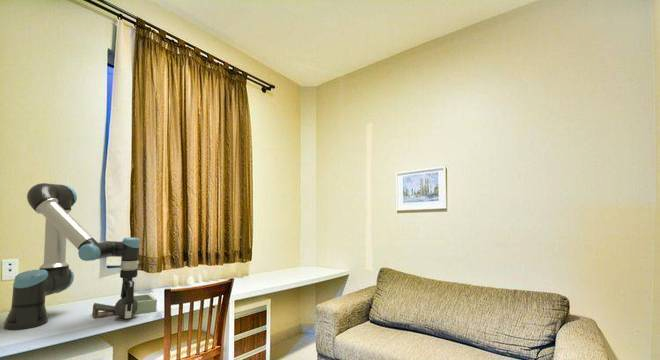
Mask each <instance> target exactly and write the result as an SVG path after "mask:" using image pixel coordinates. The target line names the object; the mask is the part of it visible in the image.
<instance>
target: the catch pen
mask: <svg viewBox="0 0 660 360" xmlns="http://www.w3.org/2000/svg"><path fill="white" fill-rule="evenodd" d="M134 299H135V300H136V301H137V303H138V308H137V311H136V312H135V314H134V315H141V314H147V313H153V312H154V313H155V312H157V301H158V299H157V298H156V297H155V296H153V295H151V294H150V293H145V294H136V295H134ZM134 315H133V316H134Z"/></svg>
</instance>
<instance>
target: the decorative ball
mask: <svg viewBox="0 0 660 360" xmlns="http://www.w3.org/2000/svg"><path fill="white" fill-rule="evenodd" d="M125 303H126V297H124V298H121V297H120V299H118V301H116V303H115V305H114V306H115V308H114V311H115V314H116V315H117V317H118V318H121V319H126V318H125V306H126V305H125ZM137 308H138V303H137V301H136V300H135V299H134V303H133V304H132V315H131V317H132V316H134V314H135V312H136V311H137ZM135 315H136V314H135Z"/></svg>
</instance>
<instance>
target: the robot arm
mask: <svg viewBox="0 0 660 360" xmlns="http://www.w3.org/2000/svg"><path fill="white" fill-rule="evenodd" d="M26 200H27V203H28V205H29V206H30V207H31V209H32V210H33V211H34V212H35V213H37V214H41V215H42V216H43V217H44V218H45V225H44V231H45V232H44V246H43V248H44V250H43V263H42V264H41V265H39V268H38V269H31V270H26V271H23V272H20V273H18V274H17V275H15V277H14V280H13V284H12V286H13V287H12V297H11V306H10V307H11V308H10V310H9V313H8V314H7V317H5V320H4V323H3V324H4V325H3V328H4V329H5V330H23V329H31V328H35V327H39V326H42V325H45V324H47V323H48V321H49V314H48V311H47V308H46V304H45V303H46V297H47V296H50V295H55V294H59V293H61V292H63V291H66V290H67V289H69V288H70V286H72V284H73V282H74V279H75V274H74V271H72V269H71V268H70V264H69V263H68V262H67V261H66V252H67V251H66V250H67V240H68V241H69V242H70V243H71V244H72V245H73V246H74V247H75V248H76V249H77V250H78V253H77V255H78V257H79V259H80V260H81V261H84V262H91V261H96V260H100V259H105V258H113V257H115V258H118V257H119V258H121V260H120V272H119V277H120V278H121V279H122V283H121V291H120V292H121V293H120V299H121V298H124V297H126V303H125V305H126V306H125V318H124V319H130V318H132V316H133V315H132V304H133V303H134V296H135V292H134V291H135V288H134V287H135V281H134V280H133V278H137V277H138V271H139V269H138V267H139V264H140V261H139V256H140V248H141V247H140V243H141V242H140V241H141V240H140V238H138V237H124V238H123V239H122V240H121V241H116V240H115V241H113V240H112V241H111V240H110V241H109V240H101V241H99V242H98V241H97V240H96V239H95V238H94V237H92V236H91V234H89V232H88V231H87V230H85V228H84V227H82V226H81V224H80V223H78V222H77V221H76V219H74V218H73V217H72V216H71V214H69V213H70V212H71V211H72V207H73V206H74V205H75V204H76V202H77V200H78V196H77V193H76V191H75V190H74V188H72V187H71V186H69V185H65V184H54V183H46V182H42V183H37V184H35V185H33V186H31V188H29V189H28V192H27V194H26ZM131 315H132V316H131Z"/></svg>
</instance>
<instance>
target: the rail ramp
mask: <svg viewBox="0 0 660 360" xmlns="http://www.w3.org/2000/svg"><path fill="white" fill-rule="evenodd" d="M114 308H115V305H109V304H103V303H97V302H94V303H93V306H92V313H91V315H92V317H93V319H100V318H101V319H103V318H109V317H115V316H117V315H116V314H115V311H114ZM117 317H118V316H117Z"/></svg>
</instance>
